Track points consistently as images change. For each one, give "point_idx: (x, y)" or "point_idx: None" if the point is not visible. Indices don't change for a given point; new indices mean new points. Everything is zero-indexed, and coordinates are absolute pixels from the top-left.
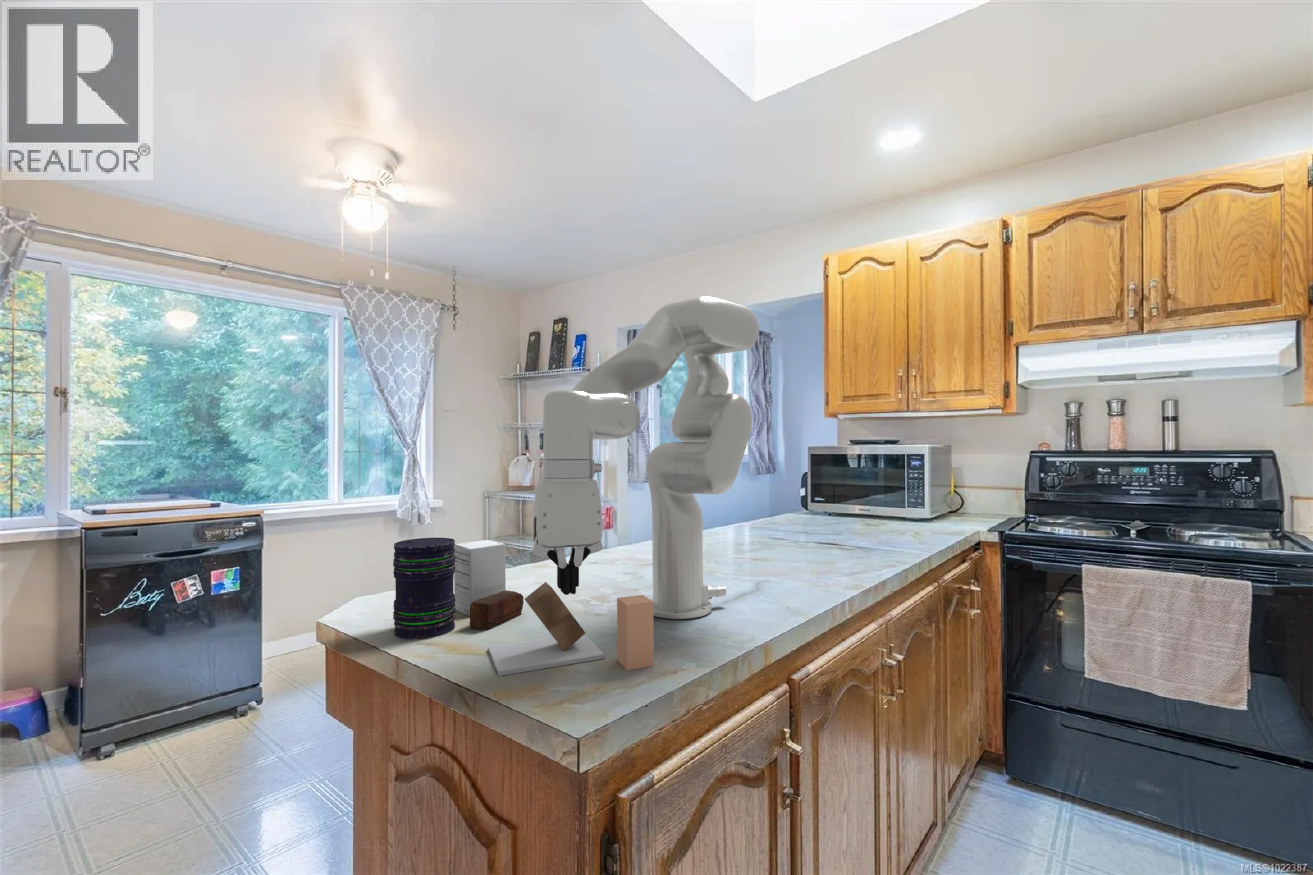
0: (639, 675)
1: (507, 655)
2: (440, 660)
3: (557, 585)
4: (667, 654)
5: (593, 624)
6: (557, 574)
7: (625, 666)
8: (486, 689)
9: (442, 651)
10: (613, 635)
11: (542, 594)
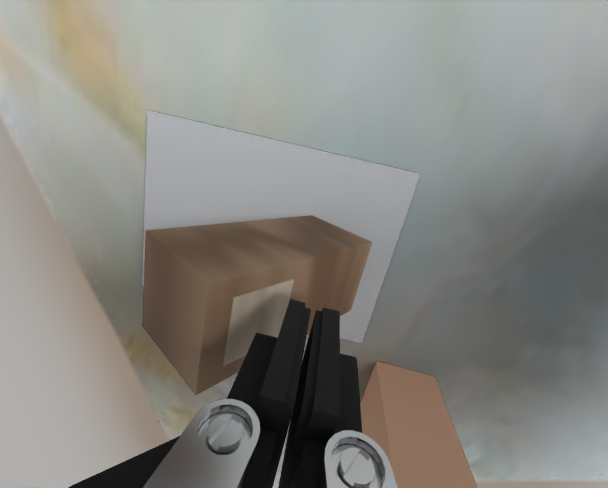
0: None
1: (176, 214)
2: (42, 112)
3: (256, 334)
4: (481, 399)
5: (527, 80)
6: (237, 378)
7: (362, 400)
8: (119, 318)
9: (44, 39)
10: (489, 224)
11: (171, 358)
